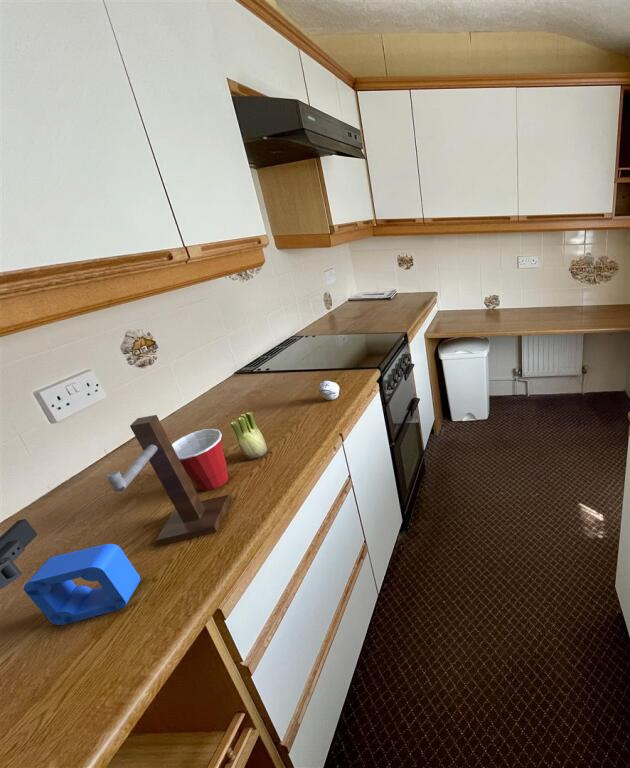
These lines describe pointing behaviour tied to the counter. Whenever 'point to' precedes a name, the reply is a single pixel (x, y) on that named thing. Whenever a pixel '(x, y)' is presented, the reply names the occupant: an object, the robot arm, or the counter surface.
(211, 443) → the plastic cup
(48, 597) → the blue rounded square frame
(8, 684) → the counter surface
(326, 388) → the white lumpy ball
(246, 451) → the fennel bulb
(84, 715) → the counter surface
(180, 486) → the hook stand
